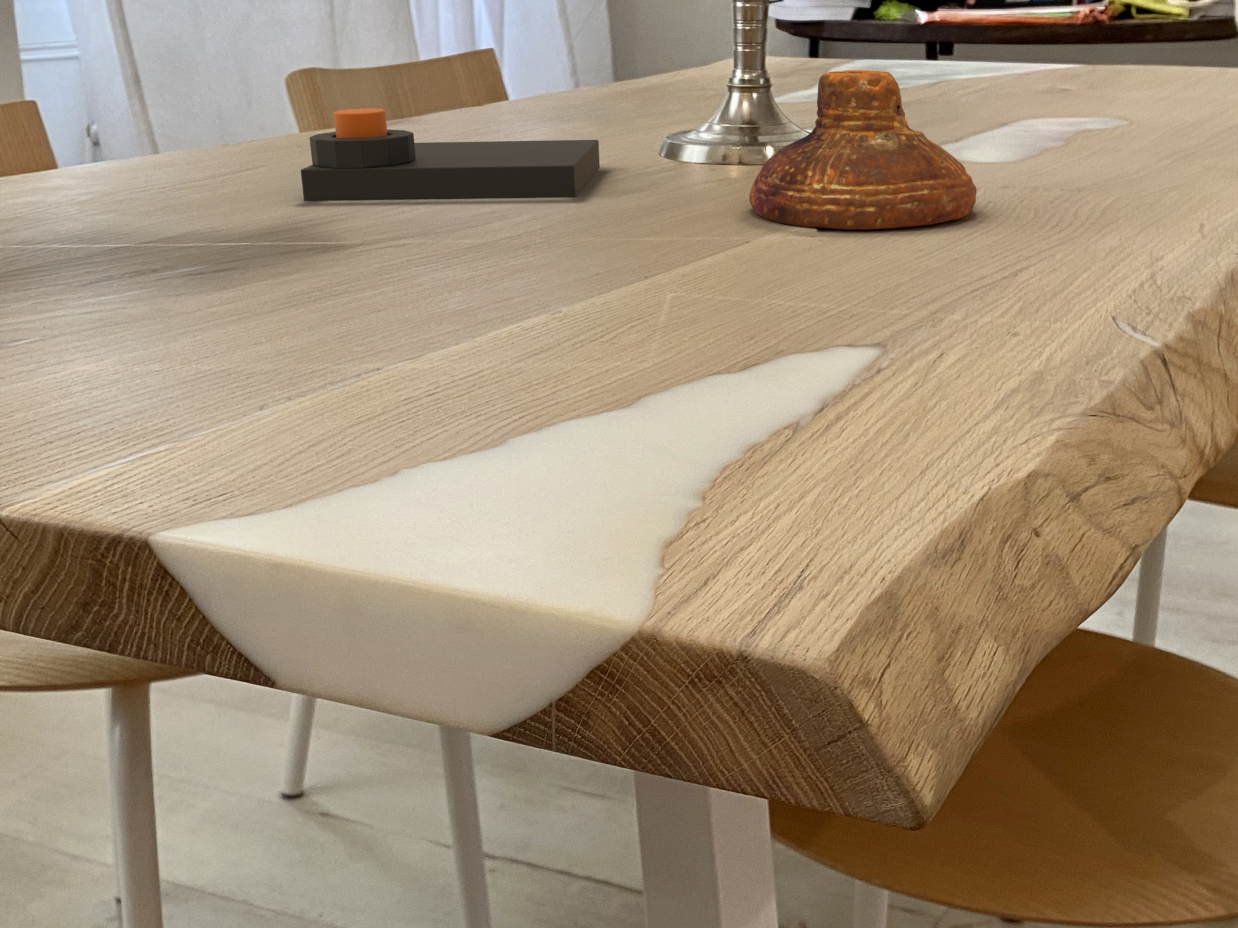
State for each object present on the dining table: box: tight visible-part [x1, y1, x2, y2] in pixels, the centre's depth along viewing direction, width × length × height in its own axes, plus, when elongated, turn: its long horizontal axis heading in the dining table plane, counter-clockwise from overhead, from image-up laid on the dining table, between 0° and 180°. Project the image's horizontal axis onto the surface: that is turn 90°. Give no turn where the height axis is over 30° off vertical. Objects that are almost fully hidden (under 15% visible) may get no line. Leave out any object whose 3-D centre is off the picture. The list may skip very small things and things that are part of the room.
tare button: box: [333, 107, 388, 138], centre depth 86 cm, size 3×3×2 cm
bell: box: [748, 69, 978, 231], centre depth 75 cm, size 12×12×7 cm
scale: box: [300, 128, 601, 202], centre depth 89 cm, size 16×13×4 cm
